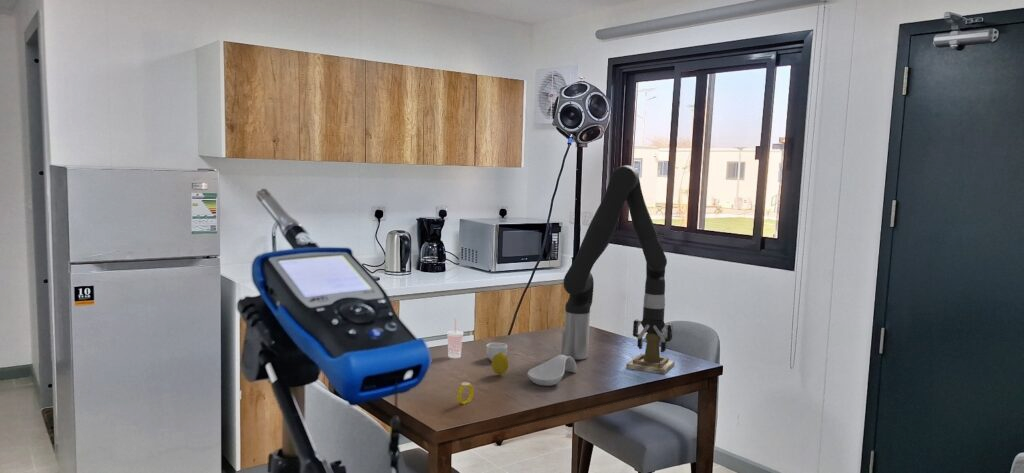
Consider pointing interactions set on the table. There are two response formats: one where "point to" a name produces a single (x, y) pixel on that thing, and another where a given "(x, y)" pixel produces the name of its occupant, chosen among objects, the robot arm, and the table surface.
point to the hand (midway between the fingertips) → (651, 350)
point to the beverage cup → (454, 343)
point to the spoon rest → (552, 370)
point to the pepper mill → (652, 348)
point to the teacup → (495, 349)
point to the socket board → (650, 364)
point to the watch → (463, 385)
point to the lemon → (500, 363)
